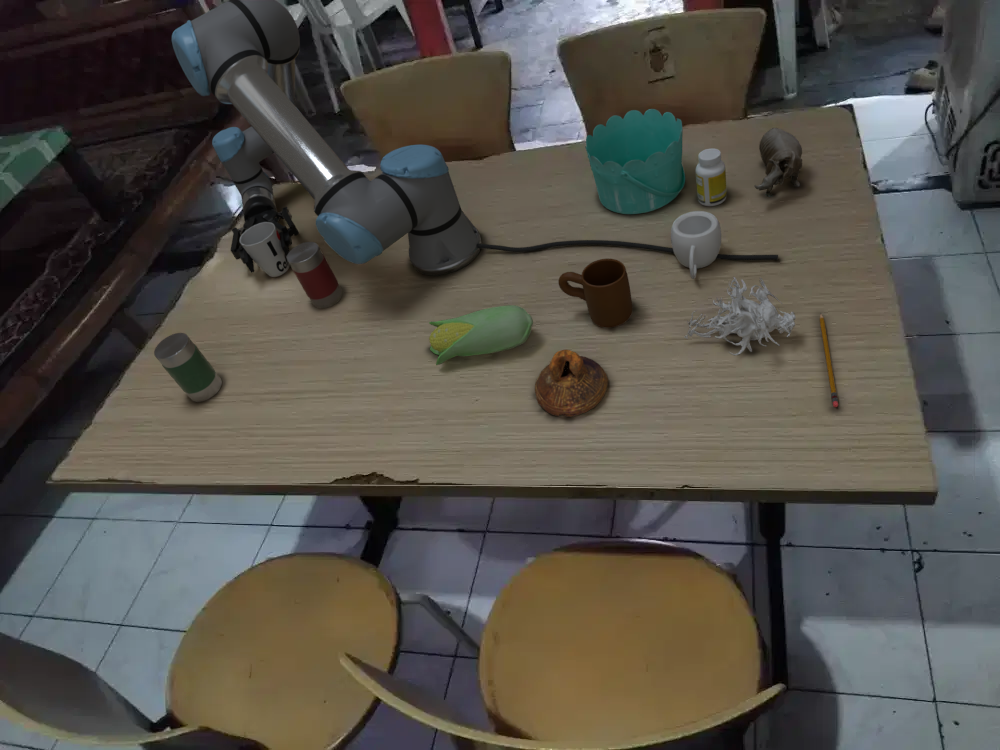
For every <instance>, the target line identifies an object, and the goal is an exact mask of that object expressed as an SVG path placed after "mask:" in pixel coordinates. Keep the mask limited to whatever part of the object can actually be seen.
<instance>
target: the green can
mask: <svg viewBox="0 0 1000 750" xmlns="http://www.w3.org/2000/svg"><path fill="white" fill-rule="evenodd" d="M153 355H154V357H155V358H156V359H157V360H158V362H159V363H160V364H161V366H162V367H163V368H164V370H165V371H166V372H167V374H169V376H170V377H171V378H172V380H173V381H174V382H175V383H176V384H177V386H179V387H180V389H181V390H182V391H183V392H184V393H185V394H186V395H187V396H188V397H189V399H190V400H191V401H192V402H195V403H196V402H197V403H201V402H205V401H207V400H209V399H212V397H214V396H215V395H217V394H218V392H219V391H220V389H221V388H222V385H223V380H222V378H221V377H220V375H219V374H218V373H217V371H216V370H215V369H214V367H213V366H212V364H211V363H210V362H209V360H208V359H207V358H206V356H205V355H204V354H203V353H202V351H201V350H200V349H199V347H198V346H197V345H196V344H195V343H194V342H193V341H192V340H191V338H190V337H189V336H188V335H187V333H184V332H177V333H173V334H170V335H168V336H167V337H165V338H163V339H161V341H160V342H159V343H157V345H156V346H155V348H154V351H153Z"/></svg>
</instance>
